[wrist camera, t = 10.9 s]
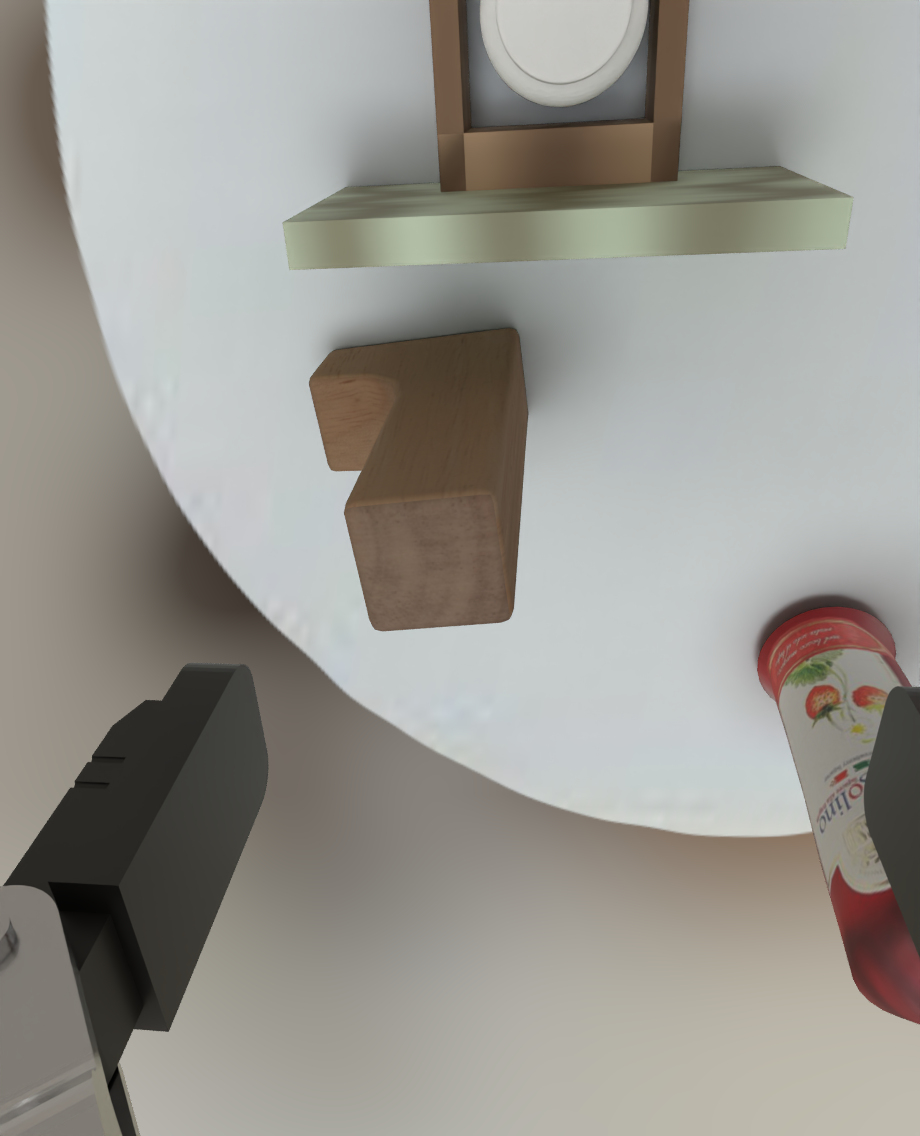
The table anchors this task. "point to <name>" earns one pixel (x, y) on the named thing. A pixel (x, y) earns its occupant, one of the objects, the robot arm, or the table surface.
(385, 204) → the board
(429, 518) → the wooden block
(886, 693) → the liquor
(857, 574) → the table surface
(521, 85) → the supplement bottle
